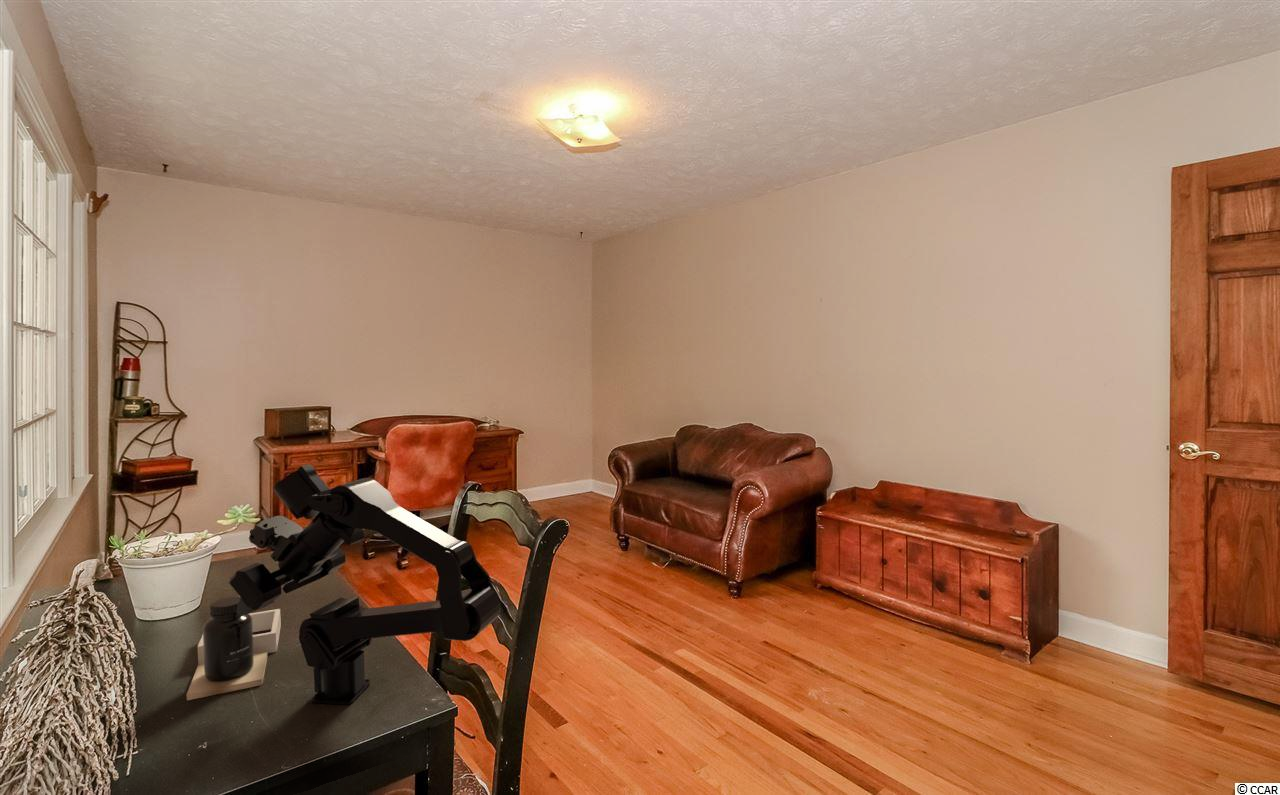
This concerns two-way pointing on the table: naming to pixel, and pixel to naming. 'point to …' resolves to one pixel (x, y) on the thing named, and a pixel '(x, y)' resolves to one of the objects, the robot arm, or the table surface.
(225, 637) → the supplement bottle
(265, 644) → the white open box
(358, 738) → the table surface
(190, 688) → the birch pad
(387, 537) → the robot arm
